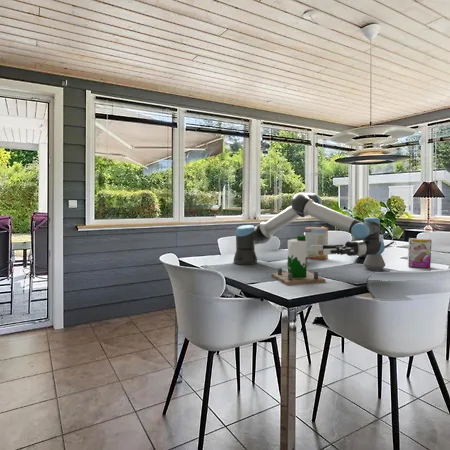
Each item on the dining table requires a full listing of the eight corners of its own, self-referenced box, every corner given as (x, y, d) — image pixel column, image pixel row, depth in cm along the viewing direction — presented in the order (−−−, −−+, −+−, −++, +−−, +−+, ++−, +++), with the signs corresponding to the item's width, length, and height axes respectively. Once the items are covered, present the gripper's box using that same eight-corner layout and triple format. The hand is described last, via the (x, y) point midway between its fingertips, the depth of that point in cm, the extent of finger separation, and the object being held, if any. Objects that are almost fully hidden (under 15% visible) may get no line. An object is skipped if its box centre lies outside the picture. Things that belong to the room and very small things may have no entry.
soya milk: (308, 277, 173) (308, 237, 172) (290, 278, 173) (290, 237, 171) (303, 274, 182) (303, 235, 181) (285, 274, 181) (285, 235, 180)
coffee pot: (374, 271, 193) (374, 244, 192) (358, 268, 204) (359, 242, 203) (402, 268, 202) (403, 242, 201) (386, 265, 212) (387, 240, 211)
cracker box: (328, 258, 237) (328, 227, 236) (325, 259, 232) (325, 228, 231) (307, 257, 245) (307, 226, 243) (304, 258, 240) (304, 227, 238)
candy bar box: (408, 267, 204) (409, 239, 203) (407, 265, 209) (408, 238, 208) (431, 268, 201) (431, 239, 200) (429, 266, 206) (429, 238, 204)
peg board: (271, 276, 185) (271, 267, 185) (306, 273, 190) (307, 265, 189) (286, 285, 166) (286, 275, 165) (325, 282, 170) (325, 273, 170)
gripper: (369, 259, 172) (329, 261, 167) (341, 252, 196) (306, 253, 192) (369, 244, 171) (329, 245, 167) (341, 238, 196) (306, 239, 191)
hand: (317, 250), depth 179 cm, fingers open, 13 cm apart
